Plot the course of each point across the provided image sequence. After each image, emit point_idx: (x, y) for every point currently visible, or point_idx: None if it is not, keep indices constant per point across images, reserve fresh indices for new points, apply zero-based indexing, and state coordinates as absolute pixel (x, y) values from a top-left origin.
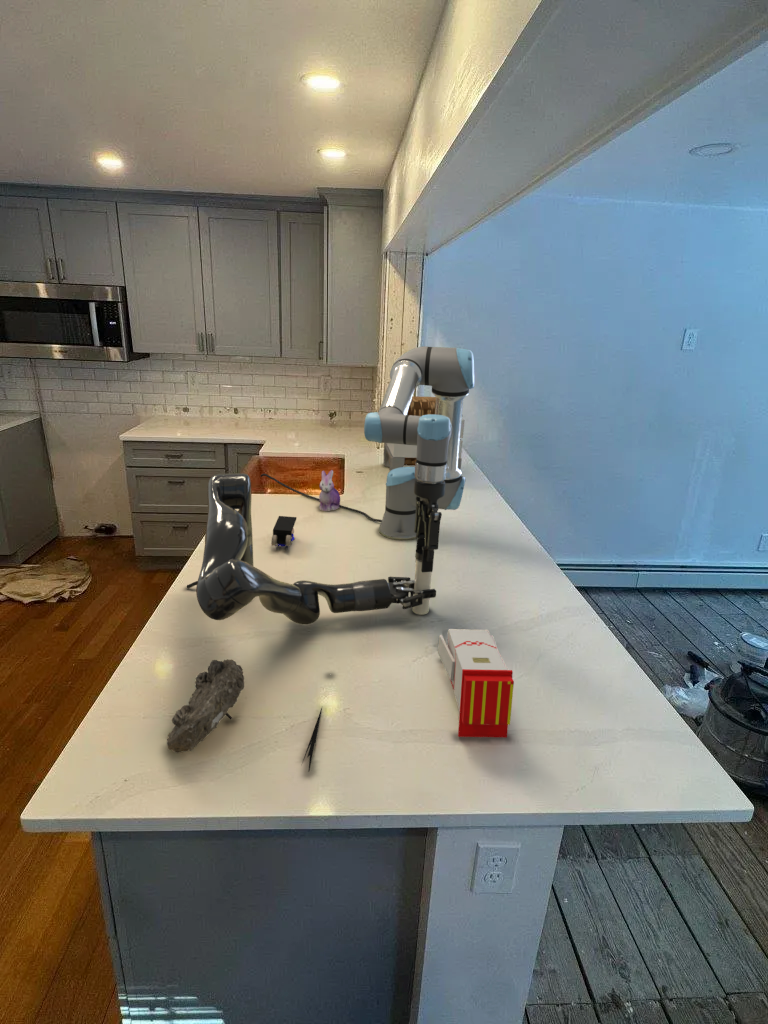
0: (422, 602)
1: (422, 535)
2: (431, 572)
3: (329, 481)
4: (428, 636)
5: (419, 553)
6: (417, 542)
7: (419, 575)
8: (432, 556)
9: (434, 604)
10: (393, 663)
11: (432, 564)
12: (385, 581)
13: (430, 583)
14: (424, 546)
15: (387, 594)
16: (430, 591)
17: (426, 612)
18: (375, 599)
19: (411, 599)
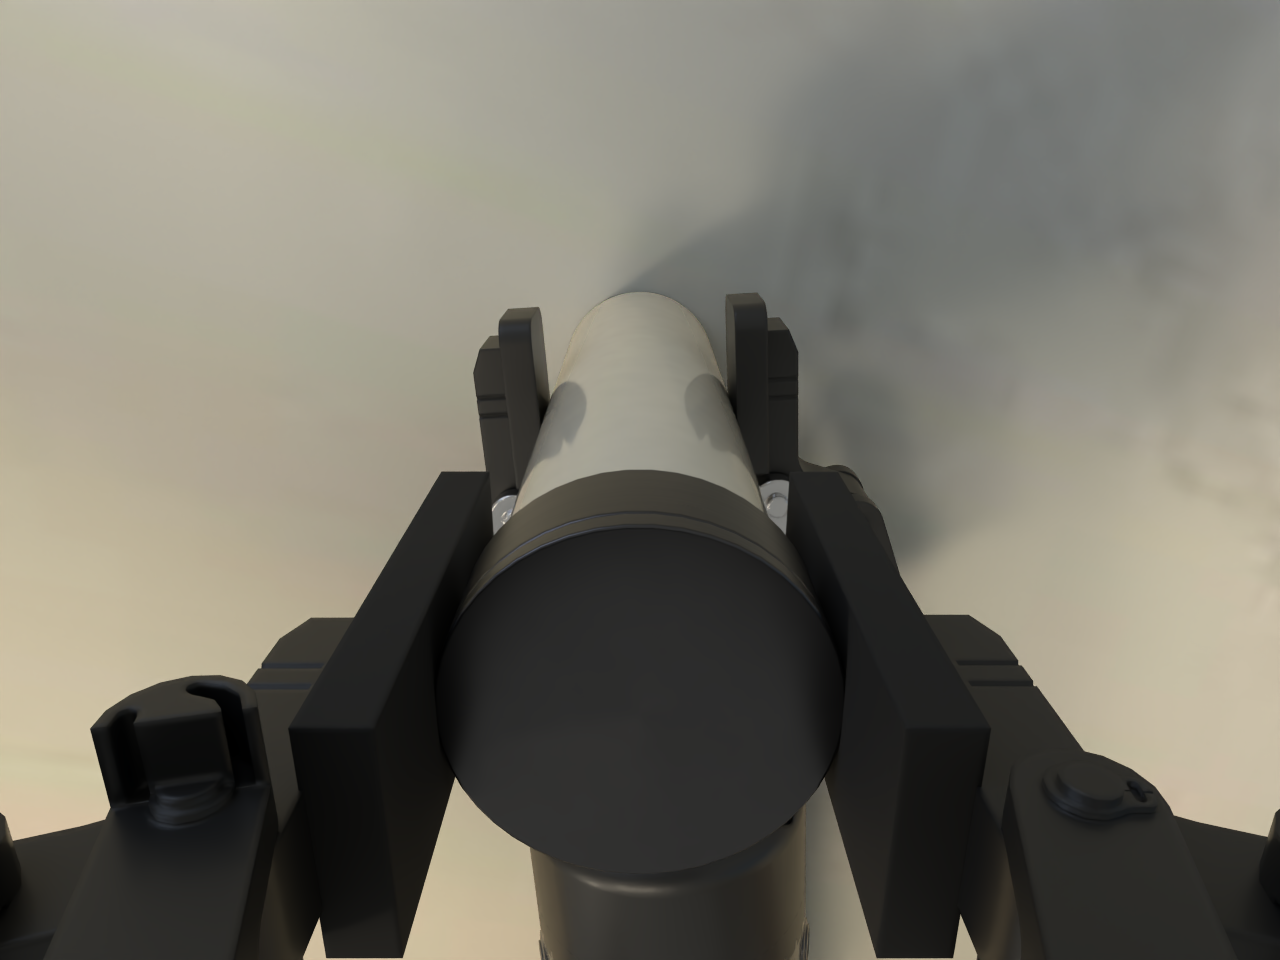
0: (854, 474)
1: (268, 924)
2: (712, 423)
3: None
4: (1048, 420)
5: (745, 841)
6: (410, 903)
7: None
8: (1026, 685)
9: (544, 195)
10: (1265, 730)
11: (866, 533)
12: (690, 901)
13: (703, 379)
14: (426, 681)
15: (798, 836)
16: (765, 378)
17: (705, 332)
18: (804, 903)
19: None
